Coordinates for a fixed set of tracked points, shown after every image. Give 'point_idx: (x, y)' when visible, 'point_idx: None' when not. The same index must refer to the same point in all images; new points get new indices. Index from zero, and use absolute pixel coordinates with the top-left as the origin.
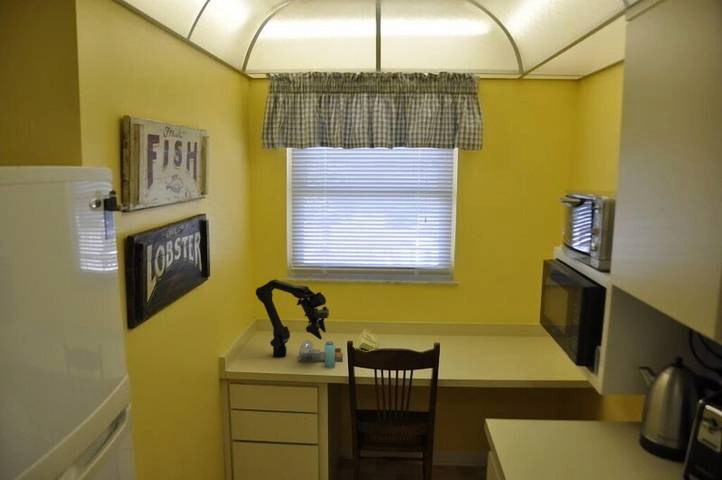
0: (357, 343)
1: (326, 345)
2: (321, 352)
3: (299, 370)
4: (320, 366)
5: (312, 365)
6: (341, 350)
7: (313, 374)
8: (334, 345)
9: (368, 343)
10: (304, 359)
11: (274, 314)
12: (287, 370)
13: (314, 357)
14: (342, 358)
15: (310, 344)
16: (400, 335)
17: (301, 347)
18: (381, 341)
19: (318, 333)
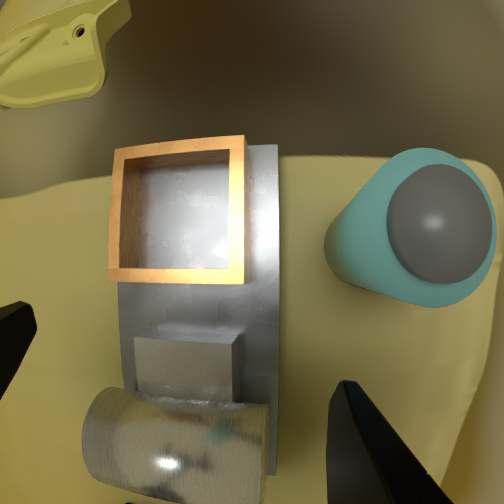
0: (23, 101)
1: (485, 274)
2: (126, 317)
3: (415, 440)
4: (367, 318)
5: (342, 377)
6: (172, 144)
7: (486, 347)
8: (449, 159)
9: (55, 40)
10: (274, 441)
11: None
12: None
13: (239, 375)
14: (262, 145)
15: (165, 446)
16: (11, 4)
17: None
18: None
19: (425, 497)
